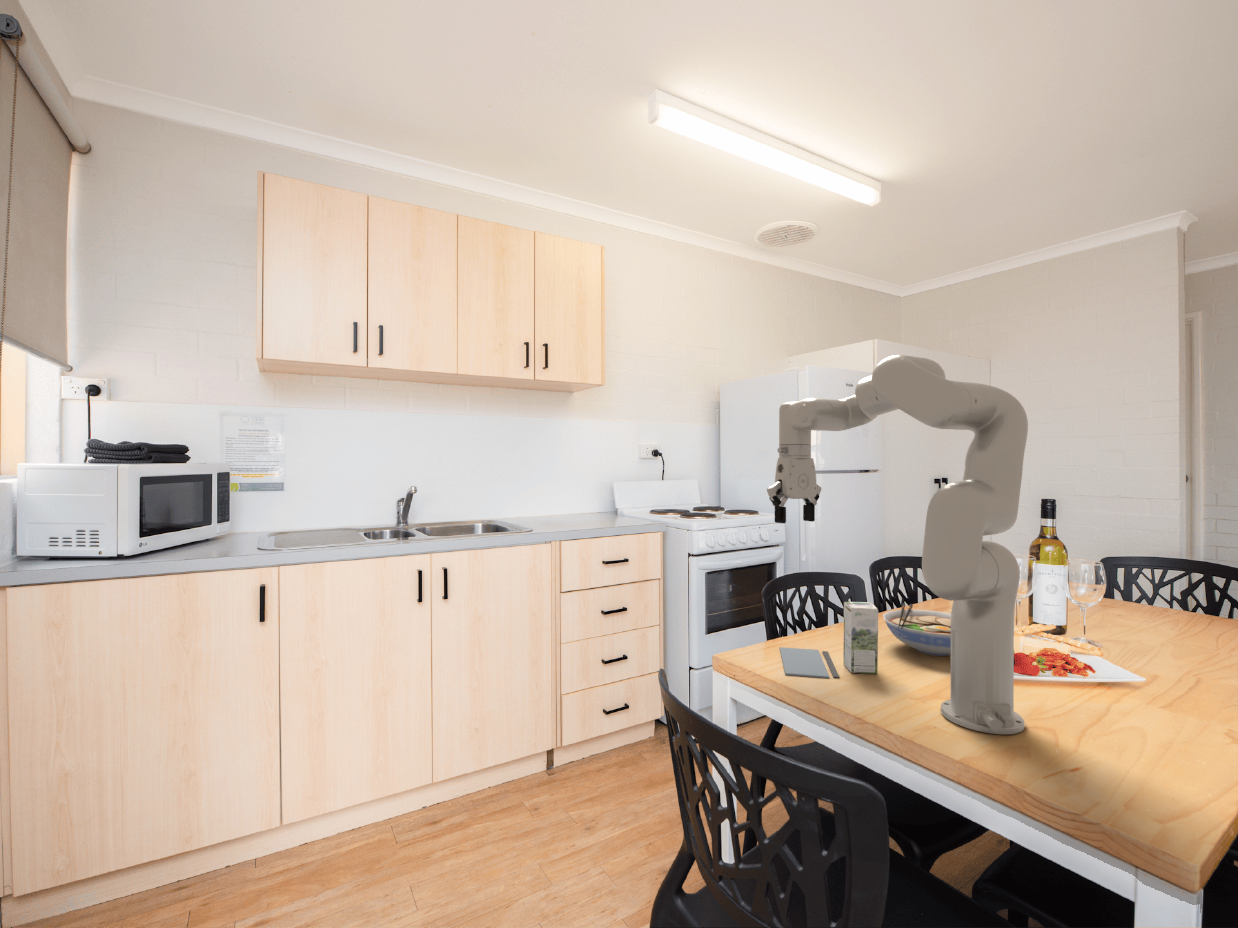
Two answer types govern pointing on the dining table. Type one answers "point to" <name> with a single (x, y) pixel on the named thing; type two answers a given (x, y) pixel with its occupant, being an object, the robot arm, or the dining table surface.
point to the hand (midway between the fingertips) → (794, 521)
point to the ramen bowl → (921, 629)
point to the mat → (803, 662)
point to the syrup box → (861, 637)
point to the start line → (830, 664)
